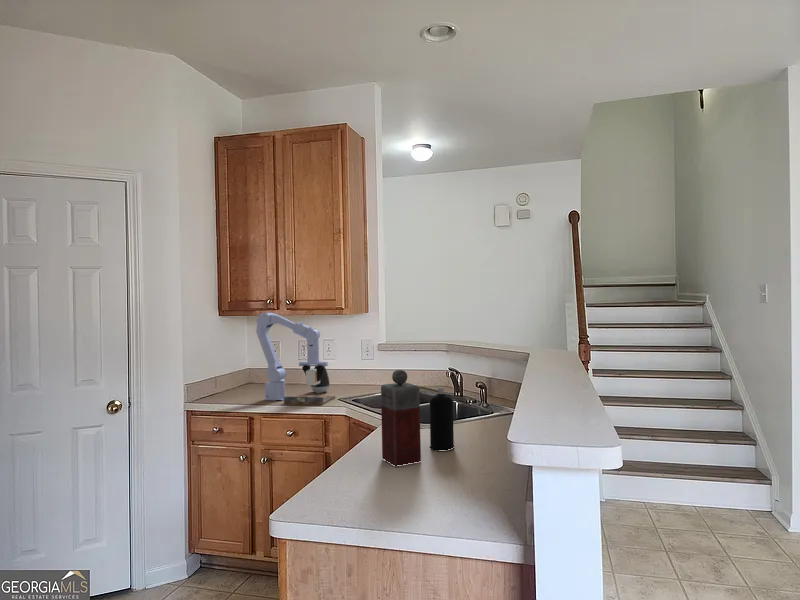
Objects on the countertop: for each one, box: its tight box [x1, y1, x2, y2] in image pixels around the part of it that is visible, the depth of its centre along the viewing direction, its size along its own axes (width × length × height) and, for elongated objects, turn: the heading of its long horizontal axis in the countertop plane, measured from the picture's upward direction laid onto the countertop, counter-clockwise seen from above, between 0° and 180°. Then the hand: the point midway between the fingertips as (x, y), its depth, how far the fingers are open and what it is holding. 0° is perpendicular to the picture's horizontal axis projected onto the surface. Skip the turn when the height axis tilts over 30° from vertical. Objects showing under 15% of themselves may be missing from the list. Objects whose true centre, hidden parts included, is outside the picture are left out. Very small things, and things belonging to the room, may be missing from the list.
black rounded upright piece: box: [309, 366, 331, 394], centre depth 285 cm, size 10×10×15 cm
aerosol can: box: [428, 386, 455, 451], centre depth 175 cm, size 8×8×20 cm
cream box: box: [305, 368, 321, 386], centre depth 263 cm, size 5×7×7 cm
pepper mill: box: [380, 369, 422, 466], centre depth 163 cm, size 9×11×28 cm
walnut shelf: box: [283, 394, 336, 406], centre depth 261 cm, size 20×17×3 cm
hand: (313, 380), depth 263 cm, fingers closed on cream box, 5 cm apart
